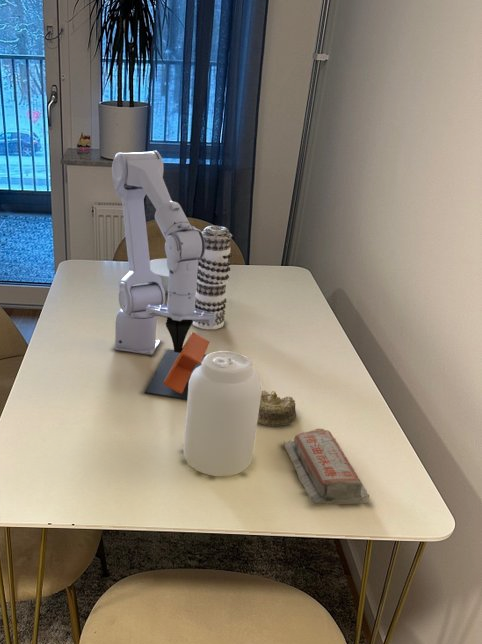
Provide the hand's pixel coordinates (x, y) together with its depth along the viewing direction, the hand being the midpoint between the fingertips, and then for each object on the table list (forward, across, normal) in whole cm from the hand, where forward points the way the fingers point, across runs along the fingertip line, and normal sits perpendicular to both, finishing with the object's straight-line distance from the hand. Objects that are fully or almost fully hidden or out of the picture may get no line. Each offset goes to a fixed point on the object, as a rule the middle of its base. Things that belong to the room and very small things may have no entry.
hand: (178, 350), depth 139 cm
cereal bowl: (+8, -14, +55) cm, 58 cm away
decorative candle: (+8, +1, +34) cm, 35 cm away
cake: (+8, +22, -8) cm, 24 cm away
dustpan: (+6, 0, +2) cm, 6 cm away
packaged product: (+8, +33, -26) cm, 42 cm away
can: (+8, +14, -27) cm, 31 cm away
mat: (+7, +4, +3) cm, 9 cm away
